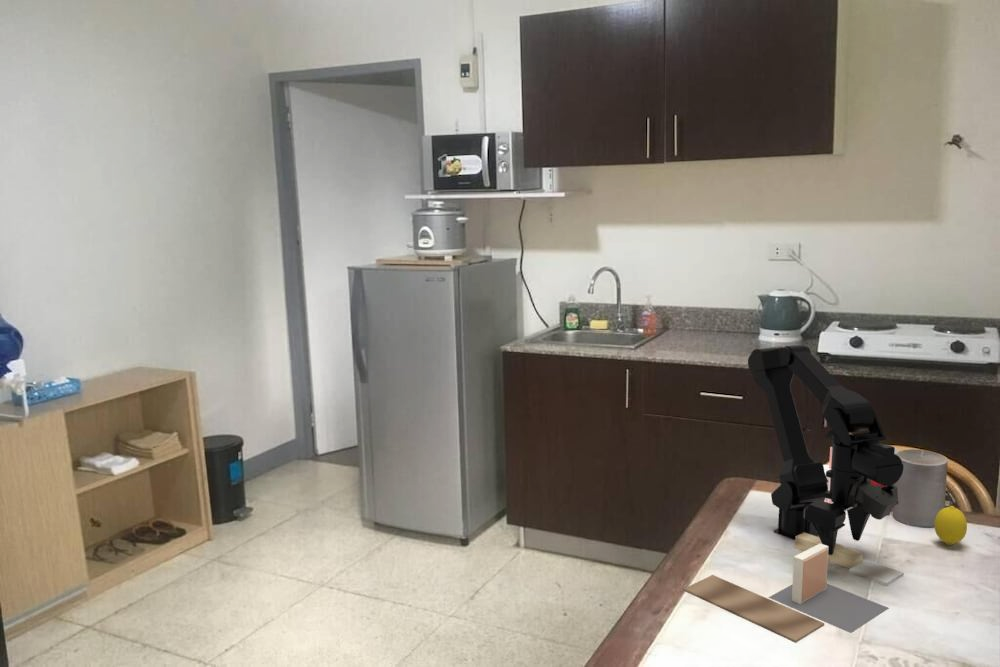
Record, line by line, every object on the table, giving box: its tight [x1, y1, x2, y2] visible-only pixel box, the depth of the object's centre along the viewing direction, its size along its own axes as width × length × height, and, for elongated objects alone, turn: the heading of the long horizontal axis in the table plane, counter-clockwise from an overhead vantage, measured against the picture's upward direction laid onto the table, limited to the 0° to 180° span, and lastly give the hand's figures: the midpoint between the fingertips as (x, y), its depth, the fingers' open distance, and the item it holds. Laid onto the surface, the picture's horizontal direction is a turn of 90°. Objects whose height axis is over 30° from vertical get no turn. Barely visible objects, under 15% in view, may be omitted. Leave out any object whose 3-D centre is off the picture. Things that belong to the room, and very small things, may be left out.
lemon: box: [934, 505, 968, 546], centre depth 164 cm, size 6×6×8 cm
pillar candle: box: [892, 449, 949, 528], centre depth 176 cm, size 10×10×15 cm
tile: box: [792, 543, 829, 604], centre depth 144 cm, size 2×8×8 cm, turn 128°
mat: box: [768, 583, 890, 634], centre depth 143 cm, size 15×12×1 cm
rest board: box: [683, 574, 825, 643], centre depth 142 cm, size 22×8×1 cm, turn 38°
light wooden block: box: [794, 532, 904, 587], centre depth 157 cm, size 19×6×3 cm, turn 38°
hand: (843, 547), depth 157 cm, fingers open, 9 cm apart
